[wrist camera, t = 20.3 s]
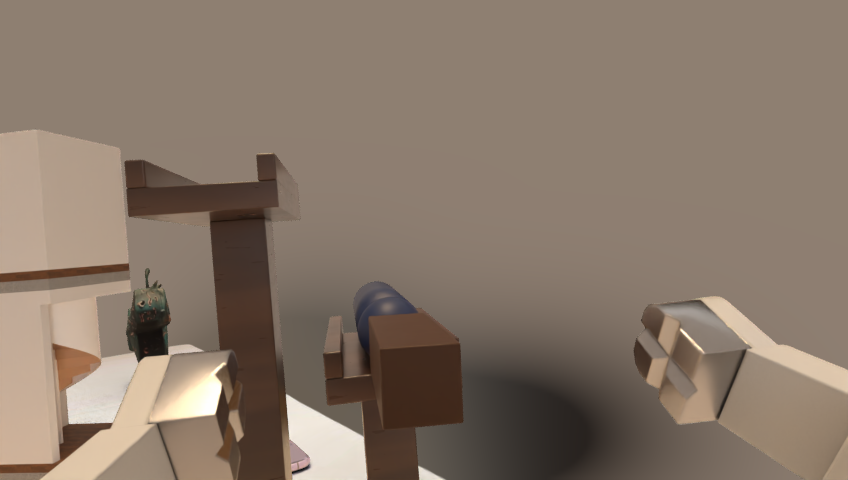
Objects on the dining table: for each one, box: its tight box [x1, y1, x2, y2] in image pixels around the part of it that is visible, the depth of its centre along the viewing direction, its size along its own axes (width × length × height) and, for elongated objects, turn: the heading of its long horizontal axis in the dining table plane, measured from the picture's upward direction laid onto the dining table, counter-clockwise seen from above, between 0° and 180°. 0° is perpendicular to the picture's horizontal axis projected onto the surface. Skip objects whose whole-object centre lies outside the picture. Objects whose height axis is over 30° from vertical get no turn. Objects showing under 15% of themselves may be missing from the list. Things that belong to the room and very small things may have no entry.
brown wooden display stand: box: [125, 153, 462, 480], centre depth 29 cm, size 12×14×26 cm
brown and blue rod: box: [353, 282, 463, 430], centre depth 27 cm, size 23×3×3 cm, turn 9°
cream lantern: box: [0, 129, 131, 480], centre depth 58 cm, size 11×11×35 cm
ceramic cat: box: [126, 268, 171, 363], centre depth 89 cm, size 20×6×20 cm, turn 29°
